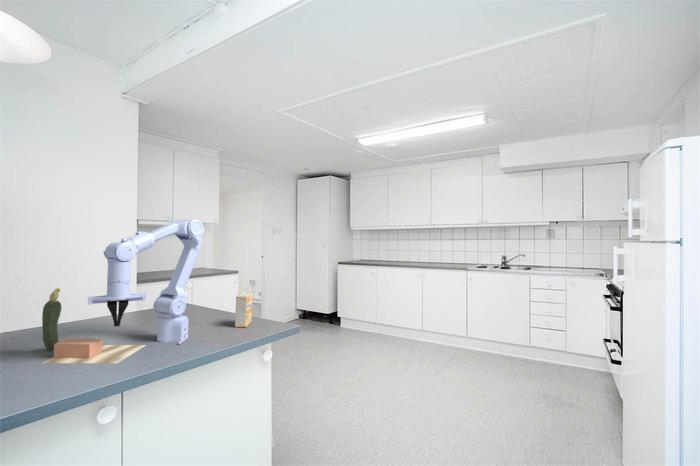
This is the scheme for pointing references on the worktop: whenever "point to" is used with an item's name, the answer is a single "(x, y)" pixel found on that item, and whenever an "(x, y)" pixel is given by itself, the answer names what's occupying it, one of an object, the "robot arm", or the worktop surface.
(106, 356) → the board
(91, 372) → the worktop surface
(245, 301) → the supplement box
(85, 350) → the pink channel block
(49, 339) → the vegetable
